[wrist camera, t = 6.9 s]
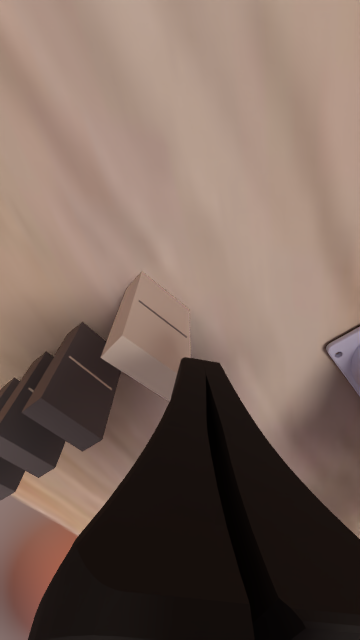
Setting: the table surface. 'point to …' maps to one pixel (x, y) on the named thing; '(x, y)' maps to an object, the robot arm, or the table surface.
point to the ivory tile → (149, 336)
